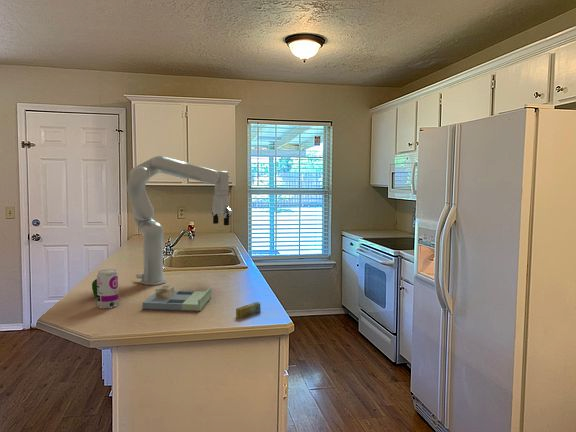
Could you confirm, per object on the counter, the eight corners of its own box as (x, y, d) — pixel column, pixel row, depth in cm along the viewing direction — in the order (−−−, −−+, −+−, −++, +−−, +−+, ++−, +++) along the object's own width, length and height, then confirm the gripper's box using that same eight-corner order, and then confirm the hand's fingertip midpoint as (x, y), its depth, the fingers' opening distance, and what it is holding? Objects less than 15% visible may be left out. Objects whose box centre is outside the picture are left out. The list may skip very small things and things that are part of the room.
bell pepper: (87, 298, 194) (87, 276, 193) (101, 293, 202) (101, 272, 201) (102, 300, 191) (101, 278, 190) (116, 295, 199) (115, 274, 198)
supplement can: (122, 304, 186) (122, 270, 184) (108, 310, 178) (108, 274, 177) (107, 302, 188) (106, 268, 187) (93, 307, 181) (92, 272, 179)
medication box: (256, 311, 181) (256, 301, 181) (261, 312, 180) (260, 302, 179) (235, 318, 172) (235, 308, 172) (240, 319, 170) (240, 309, 170)
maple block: (155, 298, 186) (155, 289, 185) (160, 294, 192) (160, 285, 191) (169, 298, 185) (169, 289, 185) (173, 294, 191) (173, 285, 191)
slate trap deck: (142, 309, 179) (142, 297, 179) (159, 296, 199) (159, 285, 199) (199, 311, 178) (199, 299, 178) (211, 298, 198) (211, 287, 197)
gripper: (206, 192, 242) (206, 223, 244) (225, 194, 230) (225, 226, 232) (217, 192, 248) (217, 222, 249) (236, 194, 235) (236, 225, 237)
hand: (221, 224), depth 240 cm, fingers open, 9 cm apart
